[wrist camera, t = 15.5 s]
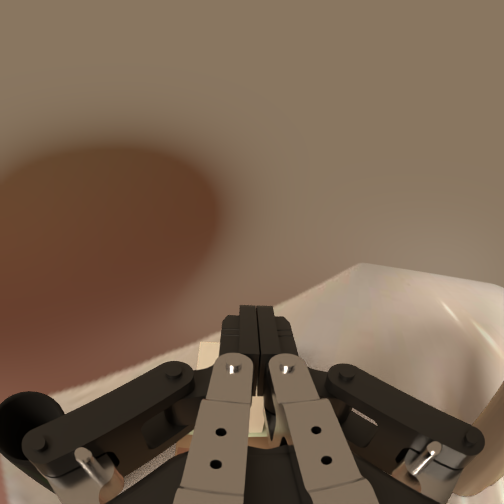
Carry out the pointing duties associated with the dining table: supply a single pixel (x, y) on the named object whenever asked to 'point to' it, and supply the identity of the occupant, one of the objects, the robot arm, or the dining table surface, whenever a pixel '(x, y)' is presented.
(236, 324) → the robot arm
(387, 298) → the dining table surface
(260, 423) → the block
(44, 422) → the cup
